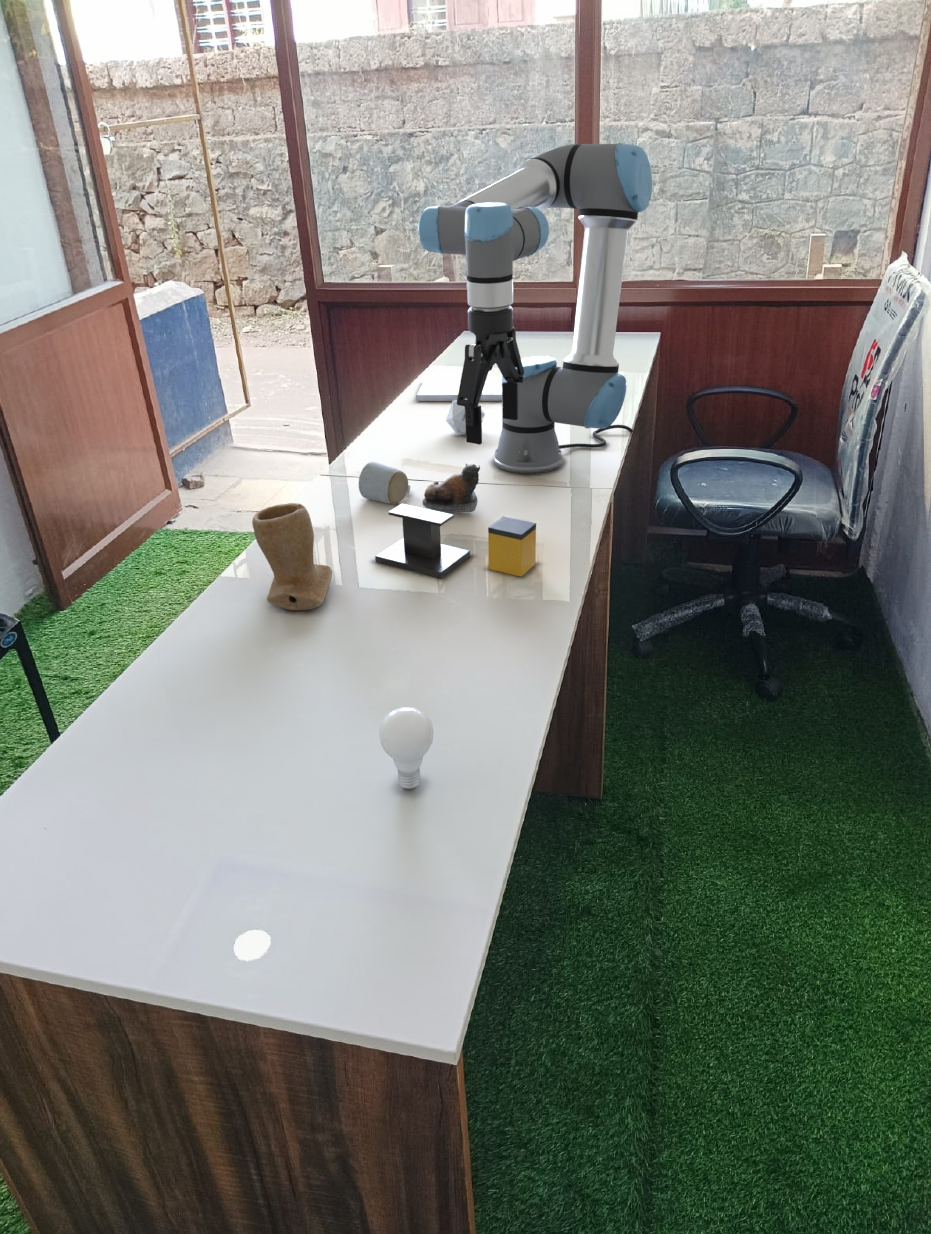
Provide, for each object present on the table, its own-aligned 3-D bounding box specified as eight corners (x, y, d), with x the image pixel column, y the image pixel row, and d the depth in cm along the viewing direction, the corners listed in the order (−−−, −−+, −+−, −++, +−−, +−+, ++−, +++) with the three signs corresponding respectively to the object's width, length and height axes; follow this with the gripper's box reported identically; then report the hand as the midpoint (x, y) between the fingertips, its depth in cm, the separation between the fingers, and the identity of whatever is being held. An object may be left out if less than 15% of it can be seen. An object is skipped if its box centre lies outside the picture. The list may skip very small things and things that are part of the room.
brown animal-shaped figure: (418, 513, 184) (416, 466, 179) (430, 500, 190) (428, 454, 185) (475, 520, 180) (474, 471, 175) (485, 506, 186) (485, 459, 181)
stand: (406, 541, 173) (403, 496, 168) (470, 556, 166) (469, 510, 162) (375, 561, 165) (371, 515, 161) (441, 578, 159) (439, 531, 154)
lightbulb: (383, 770, 114) (377, 697, 108) (434, 767, 114) (430, 694, 109) (383, 805, 108) (377, 730, 103) (437, 801, 109) (433, 726, 103)
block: (503, 557, 166) (503, 516, 162) (535, 564, 163) (536, 523, 159) (488, 569, 162) (488, 527, 158) (521, 576, 159) (521, 534, 155)
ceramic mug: (391, 510, 185) (389, 474, 182) (358, 503, 189) (356, 467, 185) (420, 493, 193) (418, 458, 190) (388, 487, 197) (386, 452, 193)
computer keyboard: (571, 382, 264) (571, 377, 264) (572, 401, 248) (572, 395, 247) (423, 382, 268) (423, 376, 267) (415, 400, 252) (415, 394, 251)
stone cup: (271, 573, 162) (259, 493, 155) (337, 572, 162) (329, 493, 154) (250, 615, 149) (237, 531, 142) (323, 615, 149) (313, 530, 141)
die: (439, 436, 228) (446, 411, 219) (451, 409, 232) (458, 384, 223) (471, 448, 228) (479, 424, 219) (482, 422, 232) (491, 397, 223)
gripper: (504, 289, 162) (506, 407, 172) (431, 321, 143) (438, 450, 154) (543, 292, 158) (542, 412, 169) (473, 325, 140) (477, 457, 151)
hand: (492, 430), depth 162 cm, fingers open, 13 cm apart
